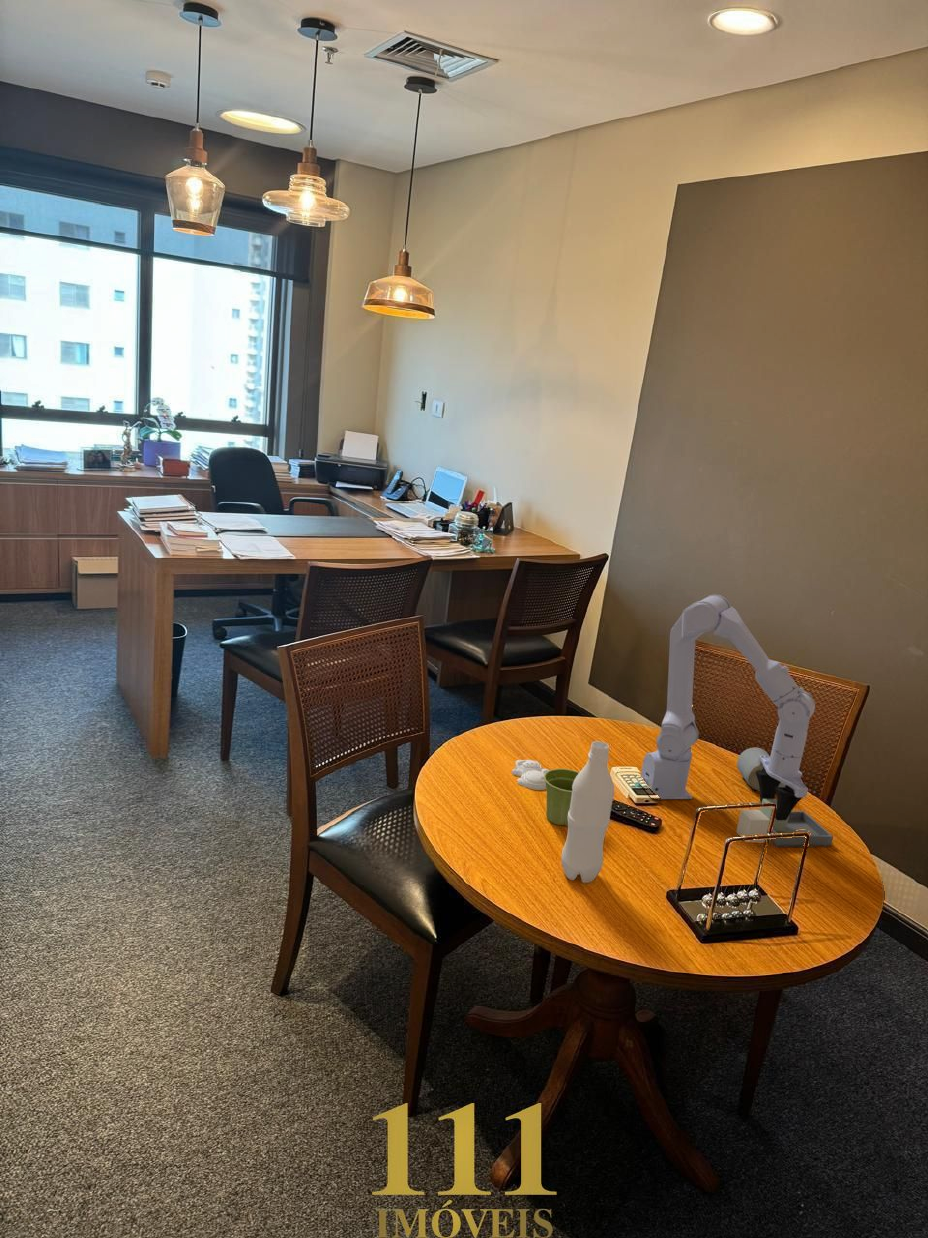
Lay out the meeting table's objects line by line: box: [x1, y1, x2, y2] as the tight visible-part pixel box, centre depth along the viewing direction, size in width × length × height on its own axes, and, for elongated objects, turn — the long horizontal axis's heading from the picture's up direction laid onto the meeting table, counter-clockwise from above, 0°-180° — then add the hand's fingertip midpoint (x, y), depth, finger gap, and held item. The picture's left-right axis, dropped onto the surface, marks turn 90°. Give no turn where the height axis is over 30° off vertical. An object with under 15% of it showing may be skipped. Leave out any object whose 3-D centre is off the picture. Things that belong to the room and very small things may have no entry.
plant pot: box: [544, 768, 580, 827], centre depth 163 cm, size 9×9×9 cm
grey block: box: [736, 809, 770, 843], centre depth 164 cm, size 4×4×5 cm
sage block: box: [759, 798, 789, 831], centre depth 168 cm, size 4×4×5 cm
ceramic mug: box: [736, 747, 785, 792], centre depth 187 cm, size 11×8×8 cm
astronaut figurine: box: [511, 759, 549, 791], centre depth 180 cm, size 9×12×3 cm
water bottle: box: [560, 740, 615, 884], centre depth 142 cm, size 7×7×25 cm
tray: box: [767, 810, 834, 848], centre depth 167 cm, size 12×10×2 cm
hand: (773, 812), depth 169 cm, fingers open, 5 cm apart
